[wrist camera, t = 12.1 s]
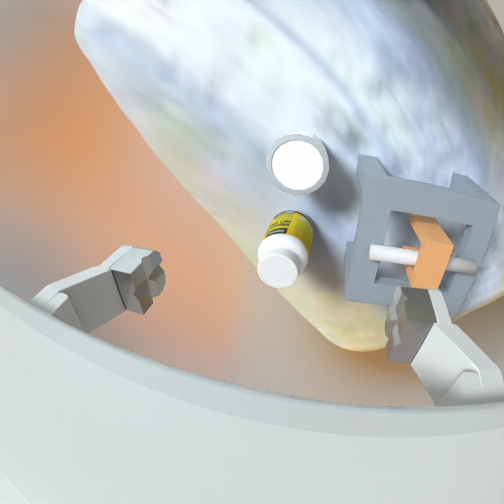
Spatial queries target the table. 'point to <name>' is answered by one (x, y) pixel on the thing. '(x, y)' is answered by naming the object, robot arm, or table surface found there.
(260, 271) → the pill bottle
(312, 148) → the shot glass
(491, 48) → the table surface
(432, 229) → the tall tan box
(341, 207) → the table surface
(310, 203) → the table surface
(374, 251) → the square frame with slider
